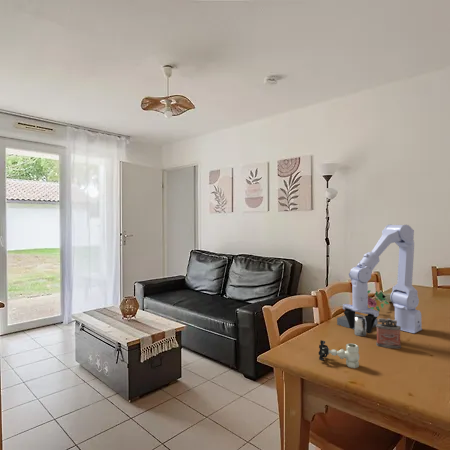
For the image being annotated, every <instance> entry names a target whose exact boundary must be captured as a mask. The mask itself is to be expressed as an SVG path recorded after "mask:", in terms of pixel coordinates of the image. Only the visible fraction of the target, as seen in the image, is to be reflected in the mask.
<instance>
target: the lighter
mask: <svg viewBox="0 0 450 450" xmlns="http://www.w3.org/2000/svg"><path fill="white" fill-rule="evenodd" d="M377 319H378V324H376V346H377V347H381V348H386V349H387V348H388V349H401V348H402V345H401V330H400V329H401V327H400V326H397V320H395V319H392V318H377Z"/></svg>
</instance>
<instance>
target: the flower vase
mask: <svg viewBox="0 0 450 450" xmlns="http://www.w3.org/2000/svg"><path fill="white" fill-rule="evenodd" d="M370 293H371V290H369V289H368V294H370ZM391 293H392V292H390V293H385V292H383V291H382V290H379V291H378V290H376V291H375V293H374V298H373V297H371V296H369V297H368V307H369V308H371V309H373V310H377V311H379V312H380V307H381V308H382V309H384V307H385V305H389V303H392V302H391V299H390V295H391ZM377 301H379V302H380V307H379V305H377V303H378V302H377ZM384 304H385V305H384ZM375 308H376V309H375Z"/></svg>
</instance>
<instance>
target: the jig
mask: <svg viewBox="0 0 450 450" xmlns="http://www.w3.org/2000/svg"><path fill="white" fill-rule="evenodd" d="M355 316H364V317H365V316H366V315H363V314H359V313H355ZM378 319H379V318H376V320H375V322H374V324H373V327H372V329H373V328H375V327H376V324H379V322H378ZM336 325H338V326H340V325H341V327H344V328H348V329H351V328H350V327H349V323H348V320H347V318H346V316H345V314H343V315H342V316H339V317H337V318H336ZM376 328H377V327H376ZM352 330H355V328H352ZM366 331H367V324H366Z"/></svg>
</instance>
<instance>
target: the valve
mask: <svg viewBox="0 0 450 450" xmlns="http://www.w3.org/2000/svg"><path fill="white" fill-rule="evenodd" d="M319 343H320V344H318V345H319V346H318V349H319V351H318V355H319V357H318V358H319V359H318V360H319V361H325V358H327V357H328V356H329V355H331V356H334V357H335V356H338V357H339V359H341V360H344V359H345V365H346V366H347V367H348V368H352V369H357V368H359V367H360V366H359V364H360V362H359V361H360V354H359V350H360V349H359V345H357V344H356V343H346V345H345V349H344V348H340V350H337V349H331V350H330V348H329V346H328V345H326V341H325V340H320V341H319Z"/></svg>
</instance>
